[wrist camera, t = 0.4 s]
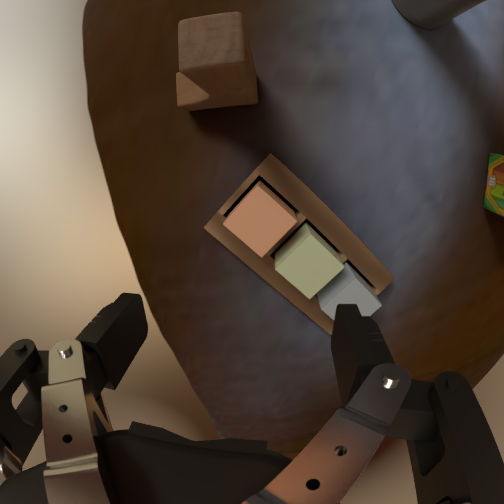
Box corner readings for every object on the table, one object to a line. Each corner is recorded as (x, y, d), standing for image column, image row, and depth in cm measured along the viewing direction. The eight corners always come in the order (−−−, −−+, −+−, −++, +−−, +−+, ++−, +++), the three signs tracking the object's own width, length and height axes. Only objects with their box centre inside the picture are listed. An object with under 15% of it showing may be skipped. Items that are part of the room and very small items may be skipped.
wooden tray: (270, 152, 34) (270, 153, 32) (387, 269, 39) (394, 278, 36) (208, 221, 38) (203, 227, 35) (327, 323, 42) (330, 335, 39)
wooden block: (187, 112, 33) (118, 87, 16) (185, 80, 32) (119, 35, 15) (258, 104, 32) (245, 64, 16) (256, 71, 31) (241, 9, 14)
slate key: (345, 261, 36) (355, 278, 32) (370, 286, 37) (382, 305, 33) (315, 289, 38) (320, 309, 33) (341, 313, 39) (349, 333, 34)
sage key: (305, 222, 35) (310, 234, 30) (335, 251, 36) (344, 267, 31) (274, 253, 37) (275, 269, 32) (305, 280, 38) (309, 299, 33)
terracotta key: (259, 180, 34) (257, 185, 29) (293, 211, 35) (297, 221, 30) (229, 213, 35) (222, 224, 30) (263, 243, 36) (261, 257, 32)
